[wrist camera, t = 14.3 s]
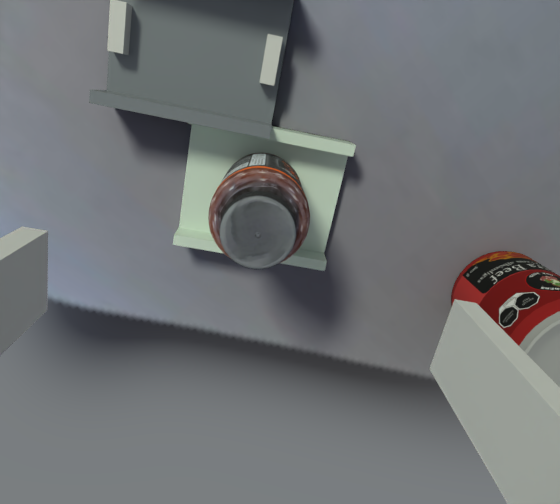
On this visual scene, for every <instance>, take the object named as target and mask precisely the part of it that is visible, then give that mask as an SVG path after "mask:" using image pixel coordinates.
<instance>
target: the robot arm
mask: <svg viewBox="0 0 560 504" xmlns="http://www.w3.org/2000/svg"><path fill="white" fill-rule="evenodd" d="M47 271H48V231H45V230H39V229H33V228H27V227H21V228H19V229H17V230H15V231H13V232H11V233H9V234H7V235H6V236H4V237H2V238H0V355H1V354H2V353H3V352H4V351H6V350H7V349H8V348H9V347H10V346H11V345H12V344H13V343H14V342H15V341H16V340H17V339H18V338H19V337H20V336H21V335H22V334H23V333H24V332H25V331H26V330H27V329H28V328H29V327H30V326H31V325H32V324H33V323H34V322H35V321H37V320H38V319H39V318H40V317H41V316H42V315H43V314H44V313H45V312H46V311H47ZM430 370H431V372H432V374H433V376H434V377H435V379H436V381H437V383H438V384H439V386H440V388H441V390H442V391H443V393H444V395H445V396H446V398H447V400H448V402H449V403H450V405H451V407H452V408H453V410H454V412H455V414H456V416H457V417H458V419H459V421H460V422H461V424H462V426H463V428H464V429H465V431H466V433H467V435H468V436H469V438H470V440H471V441H472V443H473V445H474V447H475V448H476V450H477V452H478V454H479V455H480V457H481V459H482V461H483V462H484V464H485V466H486V467H487V469H488V471H489V473H490V474H491V476H492V478H493V480H494V481H495V483H496V485H497V486H498V488H499V490H500V492H501V493H502V495H503V497H504V498H505V500H506V502H507V504H560V387H559V386H558V385H557V384H556V383H555V382H554V381H553V380H552V379H551V378H550V377H549V376H548V375H547V374H546V373H545V372H544V371H543V370H542V369H541V368H540V367H539V366H538V365H537V364H536V363H535V362H534V361H533V360H532V359H531V358H530V357H529V356H528V355H527V354H526V353H525V352H524V351H523V350H522V349H521V348H520V347H519V346H518V345H517V344H516V343H515V342H514V341H513V340H512V339H511V338H510V337H509V336H508V335H507V334H506V333H505V332H504V330H503V329H502V328H501V327H500V326H499V325H498V324H497V323H496V322H495V321H494V320H493V319H492V318H491V317H490V316H489V315H488V314H487V313H486V312H485V311H484V310H483V309H482V308H481V307H480V306H479V305H478V304H477V303H474V302H468V301H462V300H456V299H454V302H453V305H452V308H451V311H450V313H449V316H448V319H447V322H446V324H445V327H444V330H443V333H442V336H441V338H440V341H439V344H438V347H437V349H436V352H435V355H434V358H433V361H432V363H431V366H430Z"/></svg>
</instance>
